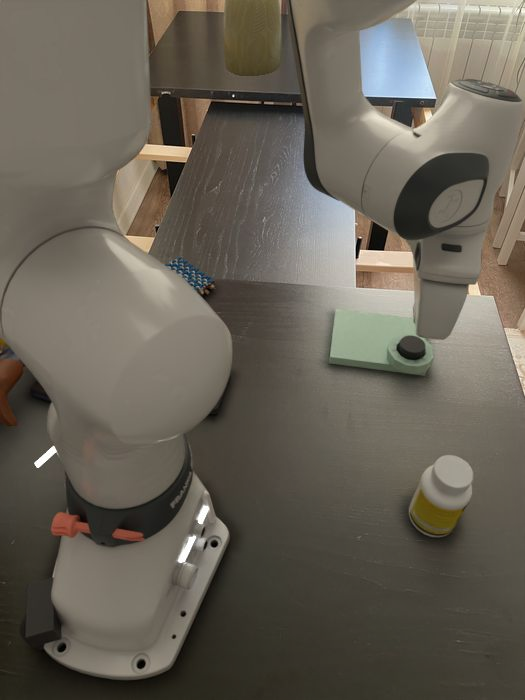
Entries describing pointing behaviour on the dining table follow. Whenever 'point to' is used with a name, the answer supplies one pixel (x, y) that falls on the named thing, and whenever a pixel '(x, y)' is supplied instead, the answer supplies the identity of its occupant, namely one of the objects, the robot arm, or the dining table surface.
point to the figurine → (8, 382)
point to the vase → (252, 36)
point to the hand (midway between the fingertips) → (419, 317)
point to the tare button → (411, 347)
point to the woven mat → (192, 275)
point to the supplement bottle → (441, 496)
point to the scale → (375, 342)
